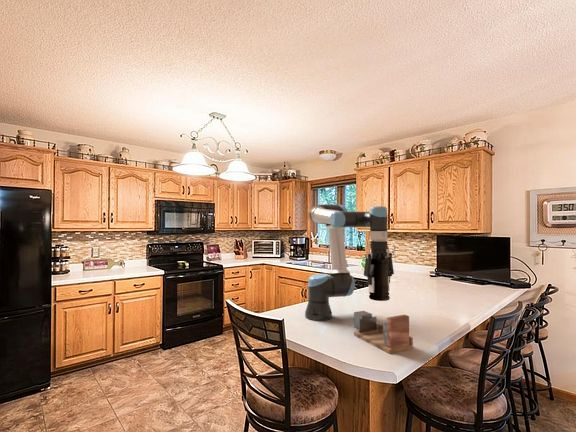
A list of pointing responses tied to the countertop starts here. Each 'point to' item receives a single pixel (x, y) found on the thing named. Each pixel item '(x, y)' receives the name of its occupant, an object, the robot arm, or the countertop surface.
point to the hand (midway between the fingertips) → (379, 291)
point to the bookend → (364, 321)
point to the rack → (389, 335)
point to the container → (380, 280)
